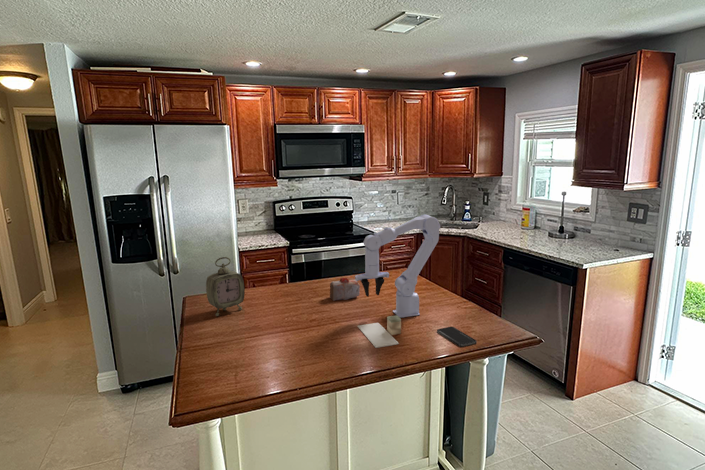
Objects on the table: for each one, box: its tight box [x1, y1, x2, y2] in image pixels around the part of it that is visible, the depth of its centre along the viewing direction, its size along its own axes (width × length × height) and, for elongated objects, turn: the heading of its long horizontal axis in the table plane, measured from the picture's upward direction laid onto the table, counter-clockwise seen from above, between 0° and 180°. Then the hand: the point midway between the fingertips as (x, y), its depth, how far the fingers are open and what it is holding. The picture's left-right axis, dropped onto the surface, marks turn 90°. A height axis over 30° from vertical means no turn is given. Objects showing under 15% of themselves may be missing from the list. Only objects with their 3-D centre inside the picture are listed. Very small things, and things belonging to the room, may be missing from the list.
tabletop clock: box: [205, 256, 246, 317], centre depth 180 cm, size 14×9×25 cm, turn 131°
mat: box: [357, 322, 400, 349], centre depth 156 cm, size 9×20×1 cm, turn 18°
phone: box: [436, 326, 478, 348], centre depth 153 cm, size 8×1×15 cm
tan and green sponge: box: [386, 314, 402, 336], centre depth 158 cm, size 4×4×6 cm
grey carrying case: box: [329, 277, 361, 302], centre depth 198 cm, size 14×8×10 cm, turn 110°
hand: (372, 295), depth 173 cm, fingers open, 4 cm apart
